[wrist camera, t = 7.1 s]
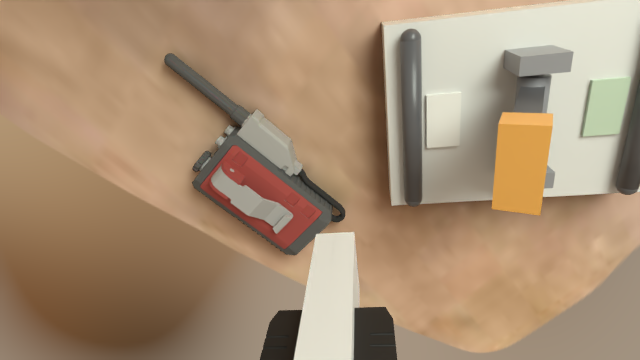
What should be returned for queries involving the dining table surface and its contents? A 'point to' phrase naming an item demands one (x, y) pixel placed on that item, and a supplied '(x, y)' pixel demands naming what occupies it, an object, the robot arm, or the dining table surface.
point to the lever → (523, 148)
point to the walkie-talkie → (259, 175)
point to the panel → (512, 97)
